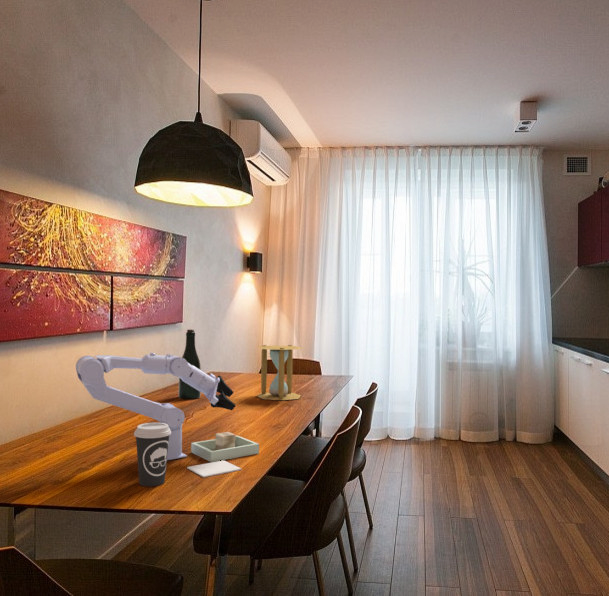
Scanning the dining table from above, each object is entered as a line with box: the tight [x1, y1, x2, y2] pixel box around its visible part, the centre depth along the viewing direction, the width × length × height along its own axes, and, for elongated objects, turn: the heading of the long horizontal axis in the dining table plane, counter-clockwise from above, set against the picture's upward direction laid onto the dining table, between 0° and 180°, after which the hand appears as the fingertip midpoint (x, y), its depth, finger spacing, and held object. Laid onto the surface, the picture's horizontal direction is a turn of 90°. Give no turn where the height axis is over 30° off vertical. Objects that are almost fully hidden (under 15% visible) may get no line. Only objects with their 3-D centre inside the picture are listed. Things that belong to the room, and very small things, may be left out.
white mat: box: [186, 460, 242, 478], centre depth 163 cm, size 12×10×1 cm
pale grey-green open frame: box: [190, 435, 260, 463], centre depth 180 cm, size 17×13×3 cm
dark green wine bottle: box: [178, 329, 202, 400], centre depth 275 cm, size 10×10×33 cm
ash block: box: [214, 431, 236, 451], centre depth 180 cm, size 4×4×6 cm
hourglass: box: [256, 344, 303, 401], centre depth 281 cm, size 24×22×25 cm
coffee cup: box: [133, 422, 171, 487], centre depth 150 cm, size 10×10×15 cm
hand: (232, 401), depth 185 cm, fingers open, 7 cm apart
